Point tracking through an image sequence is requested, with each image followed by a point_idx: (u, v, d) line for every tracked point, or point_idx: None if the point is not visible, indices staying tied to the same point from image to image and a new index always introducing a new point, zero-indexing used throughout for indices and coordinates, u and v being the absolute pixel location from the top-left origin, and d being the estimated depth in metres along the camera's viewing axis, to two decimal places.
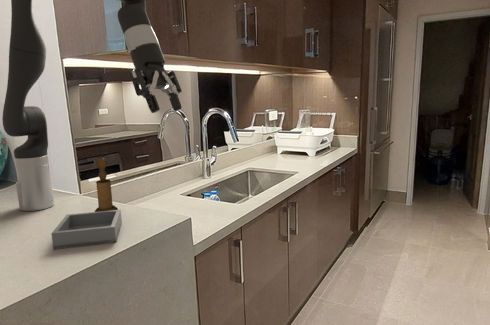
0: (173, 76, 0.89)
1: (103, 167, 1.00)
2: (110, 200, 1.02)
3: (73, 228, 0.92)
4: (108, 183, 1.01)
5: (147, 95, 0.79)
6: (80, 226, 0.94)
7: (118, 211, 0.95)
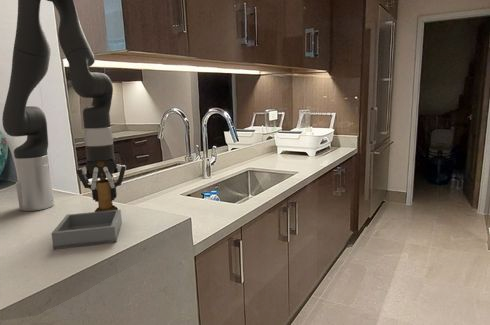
0: (120, 171, 1.01)
1: None
2: (110, 200, 1.02)
3: (73, 228, 0.92)
4: (108, 183, 1.01)
5: None
6: (80, 226, 0.94)
7: (118, 211, 0.95)
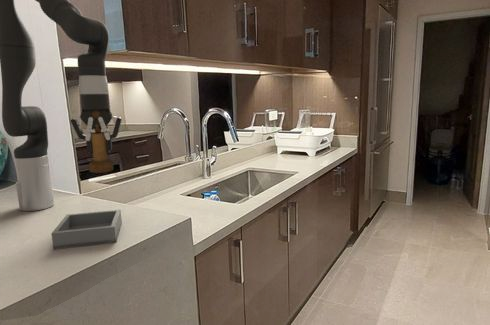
0: (116, 122, 0.98)
1: None
2: (105, 153, 0.99)
3: (73, 228, 0.92)
4: (103, 135, 0.98)
5: None
6: (80, 226, 0.94)
7: (118, 211, 0.95)
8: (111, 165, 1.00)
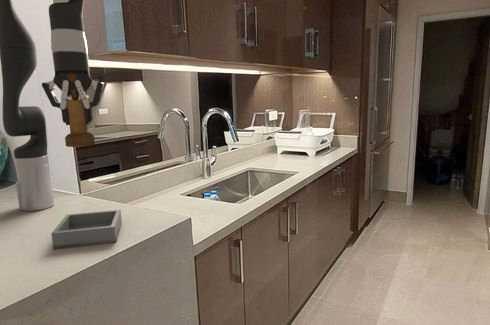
0: (97, 87, 0.83)
1: None
2: (84, 124, 0.84)
3: (73, 228, 0.92)
4: (81, 102, 0.82)
5: (60, 108, 0.82)
6: (80, 226, 0.94)
7: (118, 211, 0.95)
8: (92, 139, 0.85)
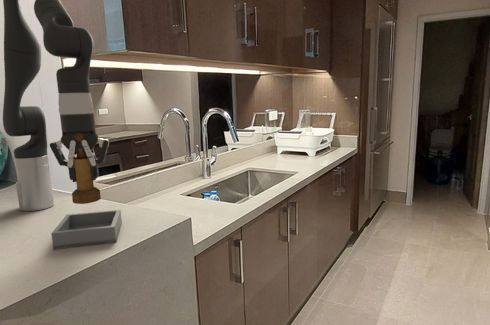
0: (103, 145, 0.85)
1: None
2: (90, 180, 0.86)
3: (73, 228, 0.92)
4: (88, 160, 0.85)
5: None
6: (80, 226, 0.94)
7: (118, 211, 0.95)
8: (98, 194, 0.87)
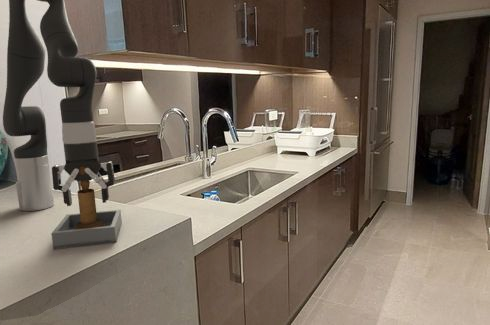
0: (107, 169, 0.87)
1: None
2: (94, 213, 0.88)
3: (73, 228, 0.92)
4: (91, 193, 0.87)
5: None
6: None
7: (118, 211, 0.95)
8: (101, 226, 0.89)
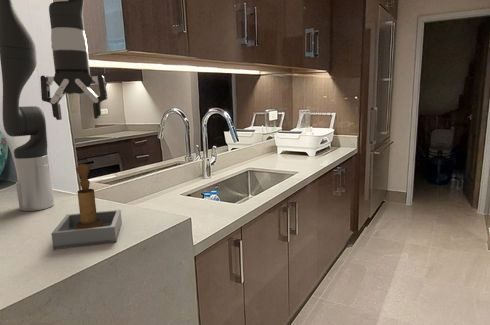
0: (99, 81, 0.83)
1: (85, 175, 0.86)
2: (94, 213, 0.88)
3: (73, 228, 0.92)
4: (91, 193, 0.87)
5: (51, 103, 0.82)
6: None
7: (118, 211, 0.95)
8: (101, 226, 0.89)
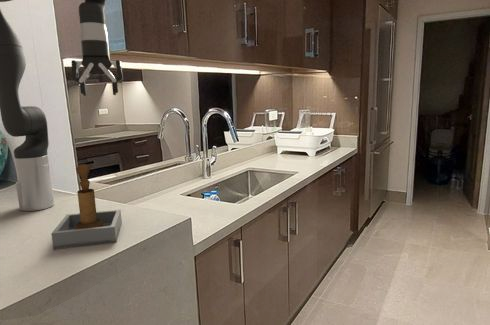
0: (117, 65, 1.05)
1: (85, 175, 0.86)
2: (94, 213, 0.88)
3: (73, 228, 0.92)
4: (91, 193, 0.87)
5: (79, 82, 1.04)
6: None
7: (118, 211, 0.95)
8: (101, 226, 0.89)
